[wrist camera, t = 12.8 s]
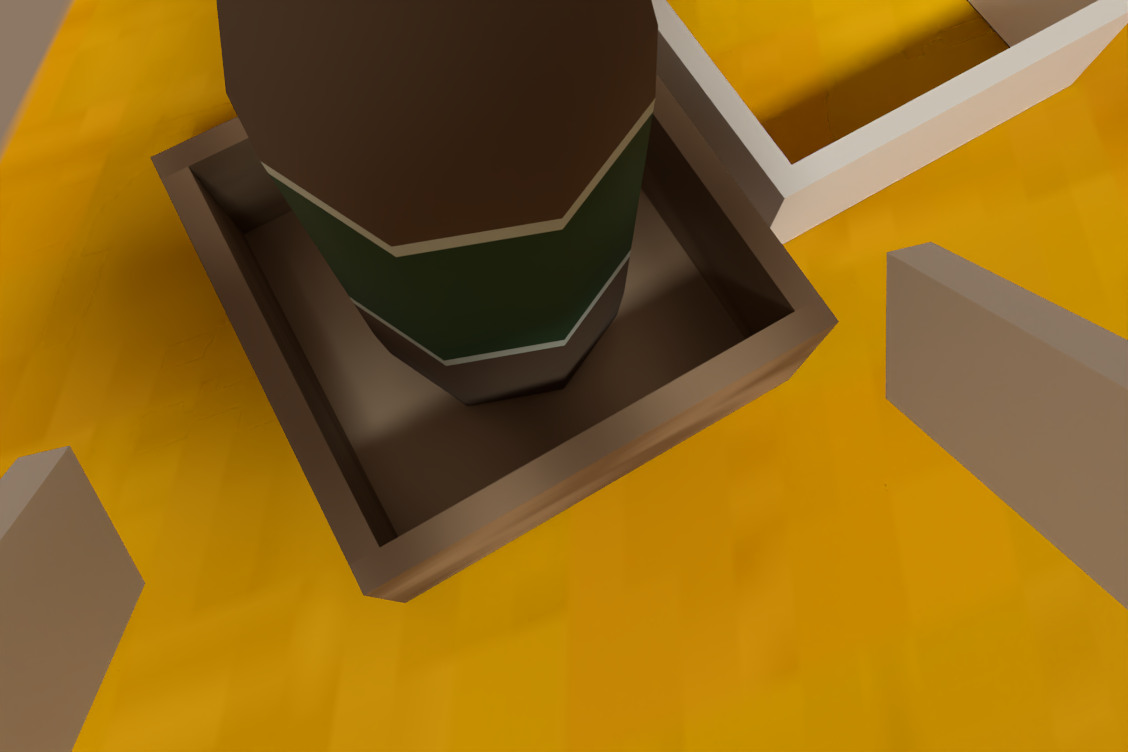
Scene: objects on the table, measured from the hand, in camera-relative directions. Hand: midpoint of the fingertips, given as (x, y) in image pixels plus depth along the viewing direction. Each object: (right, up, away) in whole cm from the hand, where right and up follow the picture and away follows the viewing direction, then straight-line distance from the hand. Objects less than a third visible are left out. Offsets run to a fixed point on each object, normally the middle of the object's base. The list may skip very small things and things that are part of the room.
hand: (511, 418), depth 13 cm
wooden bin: (-1, +3, +13) cm, 14 cm away
